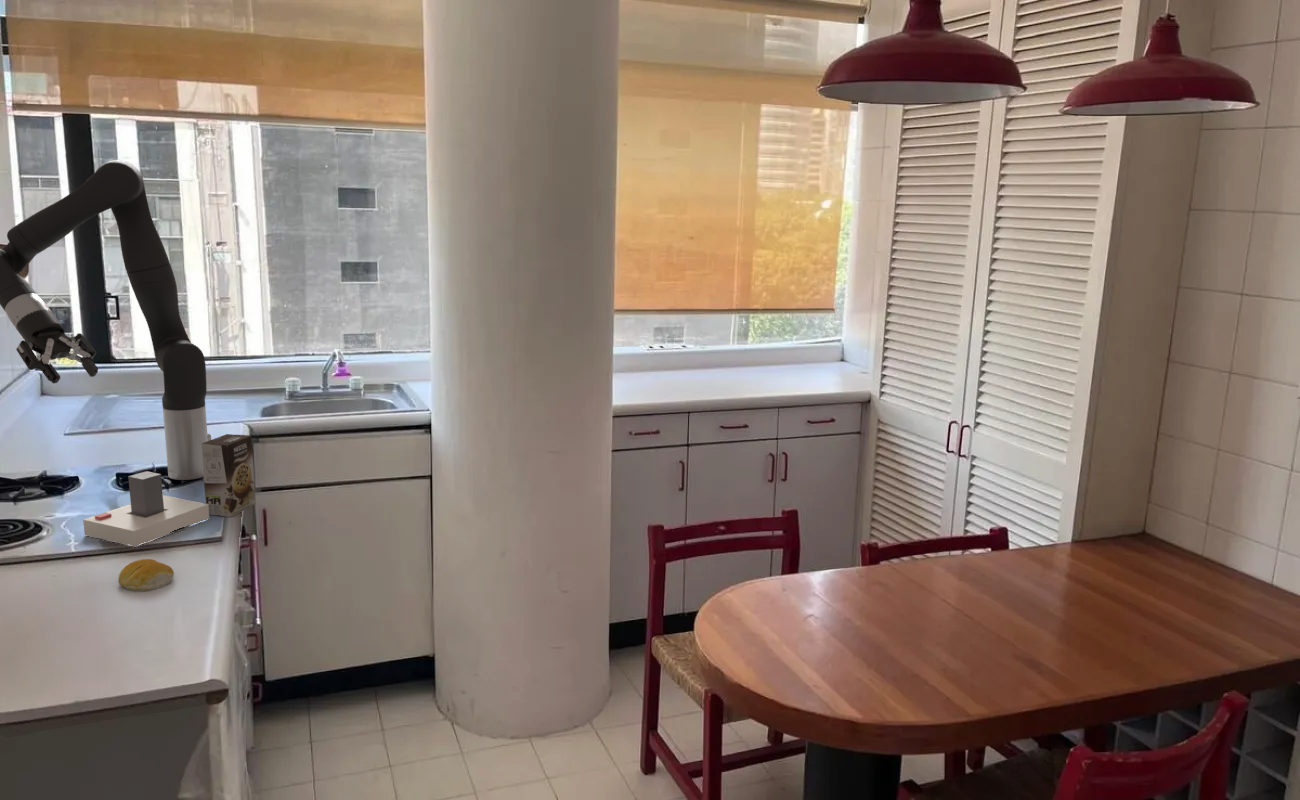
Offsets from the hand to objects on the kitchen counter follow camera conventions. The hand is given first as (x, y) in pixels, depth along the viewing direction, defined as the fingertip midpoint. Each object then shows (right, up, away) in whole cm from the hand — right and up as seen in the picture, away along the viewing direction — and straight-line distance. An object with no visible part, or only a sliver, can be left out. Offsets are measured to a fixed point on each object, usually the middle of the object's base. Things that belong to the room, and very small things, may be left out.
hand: (76, 377), depth 199 cm
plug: (+19, -30, -6) cm, 36 cm away
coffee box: (+30, -29, +7) cm, 42 cm away
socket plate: (+19, -31, -6) cm, 37 cm away
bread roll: (+32, -38, -31) cm, 59 cm away
